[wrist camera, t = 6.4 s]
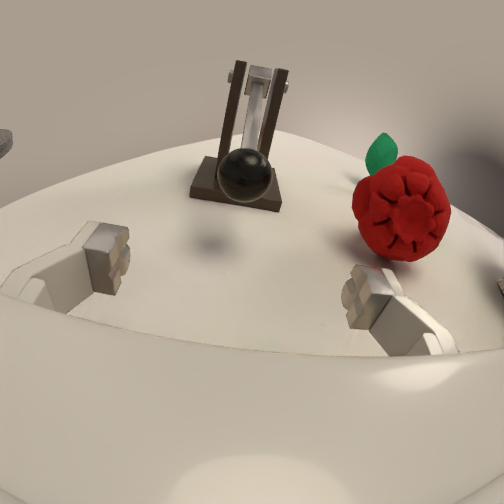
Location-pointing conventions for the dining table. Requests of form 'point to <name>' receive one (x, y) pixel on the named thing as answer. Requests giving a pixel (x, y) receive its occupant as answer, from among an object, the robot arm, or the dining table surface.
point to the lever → (248, 148)
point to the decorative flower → (400, 204)
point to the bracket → (206, 176)
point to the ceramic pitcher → (501, 284)
